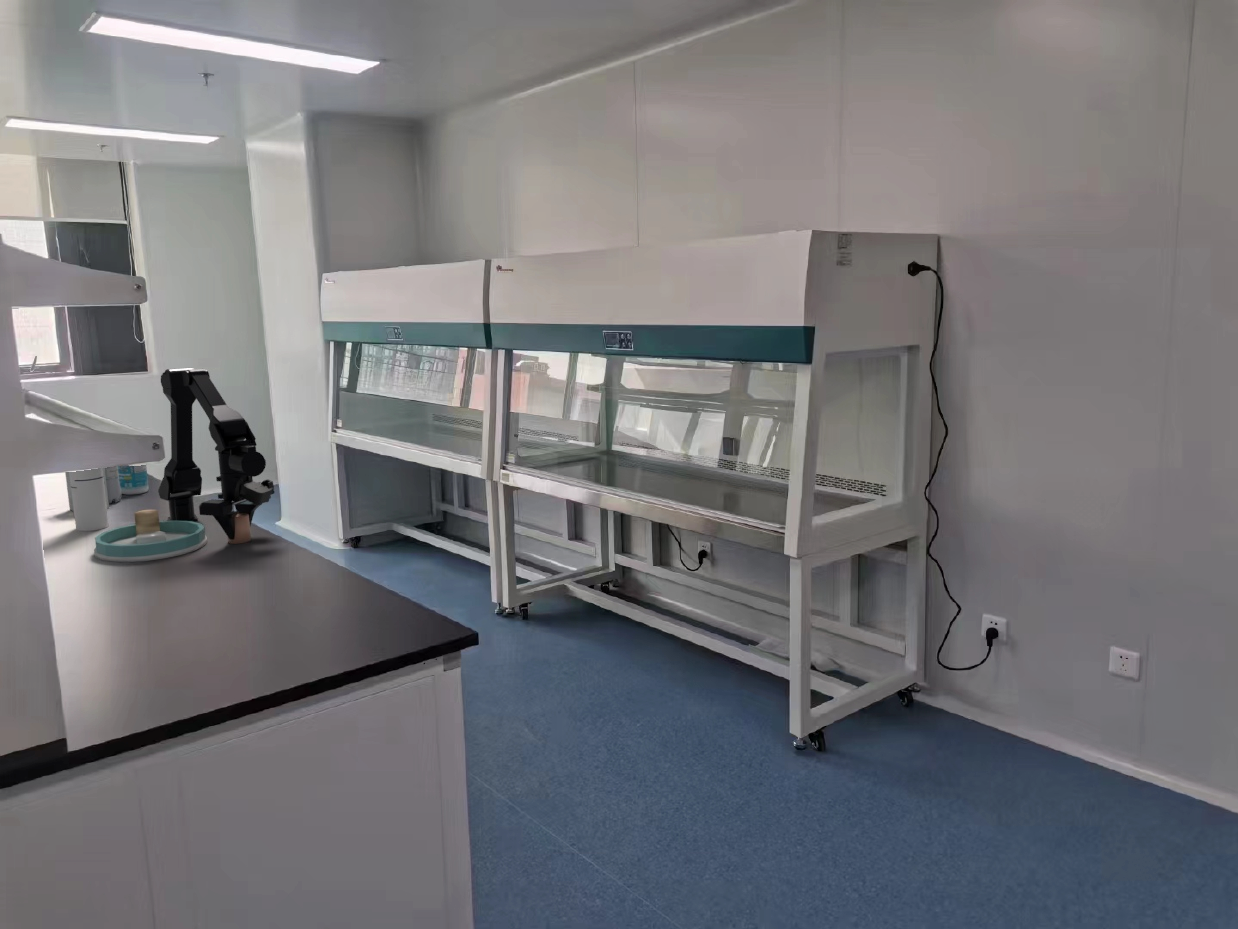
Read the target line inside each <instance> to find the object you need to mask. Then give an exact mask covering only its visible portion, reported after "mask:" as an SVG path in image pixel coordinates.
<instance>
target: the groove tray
mask: <svg viewBox="0 0 1238 929" xmlns="http://www.w3.org/2000/svg"><path fill="white" fill-rule="evenodd" d="M159 523H160V531H153V532H146V533H141V534H138V535H137V534H136V525H135V524H129V525H123V526H118V527H116V528H112V529H110V530H109V529H108V530H106V531H104V532H101V533H99V534H98V535H97V536H96V537H94V541H95V548H94V550H93V552H94V557H95V558H96V559H98V560H101V561H105V562H111V563H113V562H115V563H134V562H136V563H137V562H146V561H148V562H149V561H150V562H151V561H154V560H155V561H156V560H162V559H167V558H172V557H177V556H181V555H186V554H189V553H192V552H195V551H197V550H199V549H201V548H203V547H204V546H206V544H207V543H208V539H207V538H208V537H207V535H206V534H205V533H206V532H205V526H204V525H203V524H202V523H200V522H197V521H177V520H175V521H168V520H159Z"/></svg>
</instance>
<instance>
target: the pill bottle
mask: <svg viewBox="0 0 1238 929" xmlns="http://www.w3.org/2000/svg"><path fill="white" fill-rule="evenodd" d="M117 467H118V476H119V483H120V488H121V495H130V496H132V495H140V494H144V493H147V492H148V491H149V487H150V486H149V478H148V477H149V476H148V471H147V470H148V468H147V464H146V465H141V466H117Z"/></svg>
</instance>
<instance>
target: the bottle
mask: <svg viewBox="0 0 1238 929" xmlns="http://www.w3.org/2000/svg"><path fill="white" fill-rule="evenodd" d="M105 475H106V485H107V493H108V502H109V504H112V502H113V501H114V503H117V502H120V501H121V499H122V493H121V488H120V483H119V475H118V466H114V467H107V468H105Z"/></svg>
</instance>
